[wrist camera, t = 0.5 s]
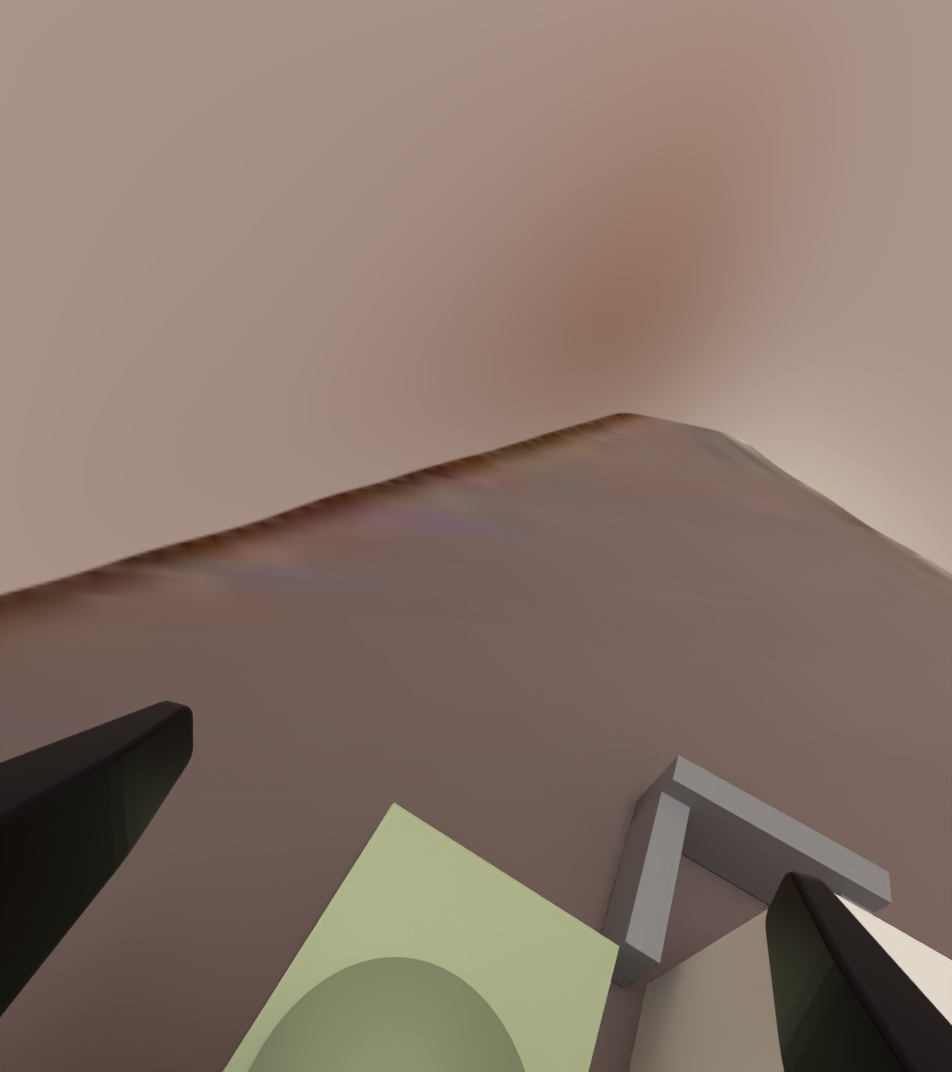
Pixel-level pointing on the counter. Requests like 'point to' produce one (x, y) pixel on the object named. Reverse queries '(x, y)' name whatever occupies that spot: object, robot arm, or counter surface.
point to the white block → (749, 1001)
